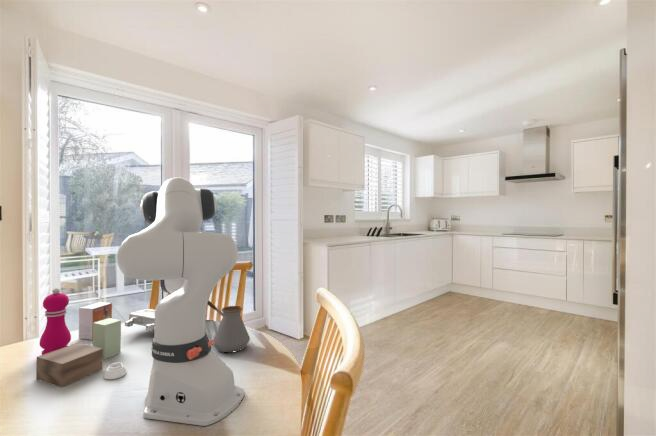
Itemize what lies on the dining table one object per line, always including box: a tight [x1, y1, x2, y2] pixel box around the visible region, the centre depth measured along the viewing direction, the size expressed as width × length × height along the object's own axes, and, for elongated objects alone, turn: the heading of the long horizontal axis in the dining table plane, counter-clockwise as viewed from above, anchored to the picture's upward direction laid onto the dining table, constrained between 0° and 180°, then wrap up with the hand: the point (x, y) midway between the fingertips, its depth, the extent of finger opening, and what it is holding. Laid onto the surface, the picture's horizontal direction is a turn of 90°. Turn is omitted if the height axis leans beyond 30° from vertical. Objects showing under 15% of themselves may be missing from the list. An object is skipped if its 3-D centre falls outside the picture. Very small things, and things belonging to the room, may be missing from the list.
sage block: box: [92, 317, 122, 360], centre depth 99 cm, size 5×5×10 cm
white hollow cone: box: [103, 362, 128, 380], centre depth 87 cm, size 5×3×5 cm
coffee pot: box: [207, 300, 251, 353], centre depth 108 cm, size 21×12×15 cm, turn 60°
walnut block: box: [35, 342, 104, 388], centre depth 87 cm, size 10×10×6 cm
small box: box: [78, 301, 113, 341], centre depth 114 cm, size 8×6×10 cm
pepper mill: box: [39, 287, 72, 355], centre depth 98 cm, size 7×7×20 cm
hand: (136, 326), depth 108 cm, fingers open, 8 cm apart
